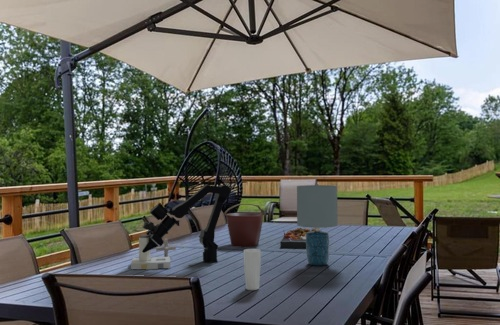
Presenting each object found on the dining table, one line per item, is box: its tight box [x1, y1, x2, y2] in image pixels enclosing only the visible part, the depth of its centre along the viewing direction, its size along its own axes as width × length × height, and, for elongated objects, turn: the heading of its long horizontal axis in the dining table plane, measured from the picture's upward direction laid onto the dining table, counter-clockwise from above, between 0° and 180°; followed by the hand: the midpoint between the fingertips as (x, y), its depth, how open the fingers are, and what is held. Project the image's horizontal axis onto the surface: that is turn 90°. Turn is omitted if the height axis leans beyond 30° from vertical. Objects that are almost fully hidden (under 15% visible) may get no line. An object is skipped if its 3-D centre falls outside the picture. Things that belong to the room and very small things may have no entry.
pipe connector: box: [155, 238, 177, 257], centre depth 254 cm, size 10×10×10 cm
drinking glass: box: [242, 248, 262, 291], centre depth 188 cm, size 7×7×15 cm
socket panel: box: [130, 256, 171, 270], centre depth 233 cm, size 18×14×3 cm
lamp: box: [296, 184, 339, 267], centre depth 234 cm, size 19×19×38 cm
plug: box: [138, 234, 152, 262], centre depth 233 cm, size 4×4×14 cm
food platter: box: [279, 227, 315, 249], centre depth 303 cm, size 45×25×10 cm, turn 170°
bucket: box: [224, 203, 266, 248], centre depth 295 cm, size 24×22×25 cm
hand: (141, 251), depth 232 cm, fingers closed on plug, 5 cm apart
